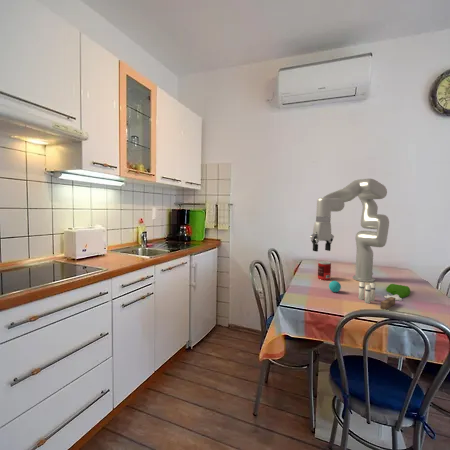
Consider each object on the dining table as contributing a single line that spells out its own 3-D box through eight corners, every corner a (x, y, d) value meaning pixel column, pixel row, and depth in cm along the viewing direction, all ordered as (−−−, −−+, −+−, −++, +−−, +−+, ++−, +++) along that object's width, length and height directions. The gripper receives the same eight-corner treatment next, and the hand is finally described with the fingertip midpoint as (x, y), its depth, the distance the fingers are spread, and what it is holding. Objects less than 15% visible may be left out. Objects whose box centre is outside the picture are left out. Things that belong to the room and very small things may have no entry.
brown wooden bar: (390, 302, 125) (390, 296, 125) (395, 304, 123) (395, 297, 123) (380, 308, 117) (380, 302, 117) (385, 309, 116) (385, 303, 116)
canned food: (331, 278, 169) (331, 261, 168) (329, 281, 162) (329, 263, 161) (318, 276, 173) (319, 260, 172) (316, 279, 166) (317, 262, 165)
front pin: (359, 297, 132) (360, 281, 131) (364, 299, 130) (365, 282, 129) (357, 298, 130) (358, 282, 129) (362, 300, 128) (363, 283, 128)
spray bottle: (411, 291, 145) (406, 304, 126) (388, 287, 152) (380, 299, 133) (411, 286, 144) (407, 298, 126) (388, 282, 151) (381, 293, 133)
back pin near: (365, 301, 127) (366, 284, 126) (371, 302, 125) (372, 285, 124) (363, 302, 125) (364, 284, 125) (369, 303, 123) (370, 286, 123)
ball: (332, 289, 145) (332, 278, 145) (342, 292, 140) (343, 281, 140) (326, 291, 141) (326, 280, 141) (337, 294, 136) (337, 283, 136)
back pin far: (370, 299, 130) (371, 282, 130) (375, 300, 128) (376, 283, 128) (368, 300, 128) (368, 283, 128) (373, 301, 126) (374, 284, 126)
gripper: (328, 220, 151) (327, 249, 151) (306, 219, 143) (305, 250, 143) (339, 220, 144) (337, 251, 145) (317, 220, 136) (315, 252, 137)
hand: (321, 250), depth 144 cm, fingers open, 9 cm apart
